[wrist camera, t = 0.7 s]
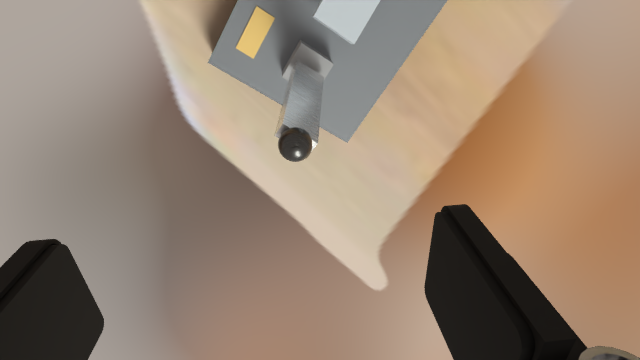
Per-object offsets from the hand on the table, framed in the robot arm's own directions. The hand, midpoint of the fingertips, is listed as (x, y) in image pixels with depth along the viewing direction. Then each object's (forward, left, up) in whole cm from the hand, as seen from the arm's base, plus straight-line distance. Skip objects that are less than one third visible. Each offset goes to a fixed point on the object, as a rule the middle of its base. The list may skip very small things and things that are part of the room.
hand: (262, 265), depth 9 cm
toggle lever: (-2, +2, -22) cm, 22 cm away
